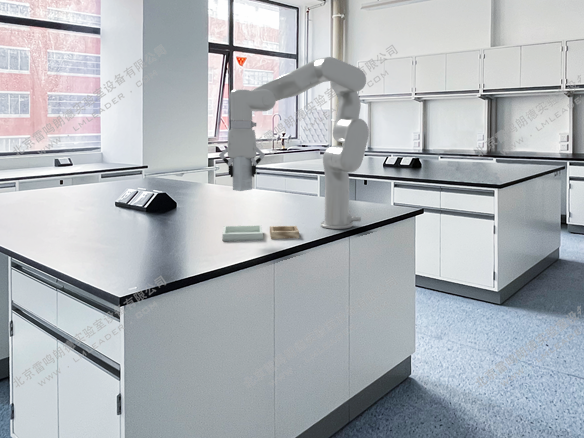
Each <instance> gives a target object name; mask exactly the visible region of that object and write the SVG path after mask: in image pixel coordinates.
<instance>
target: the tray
mask: <svg viewBox="0 0 584 438" xmlns="http://www.w3.org/2000/svg"><path fill="white" fill-rule="evenodd" d="M243 241H244V242H246V241H250V242H251V241H264V235H263V227H262V225H224V226H223V230H222V242H243Z"/></svg>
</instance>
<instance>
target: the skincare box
mask: <svg viewBox="0 0 584 438" xmlns="http://www.w3.org/2000/svg"><path fill="white" fill-rule="evenodd" d="M232 166H233V177H232V191H236V192H237V191H238V192H243V191H251V190H253V177H252V166H253V163H252V161H251V159H250V158H249V159H246V158H245V157H236V158H234V160H233V162H232Z"/></svg>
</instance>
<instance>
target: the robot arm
mask: <svg viewBox="0 0 584 438" xmlns="http://www.w3.org/2000/svg"><path fill="white" fill-rule="evenodd" d="M326 82H330V86H331V89H332V90H333V91H334V93H335V95H336V97H337V101H338V107H337V113H336V116H335V120H334V125H333V129H332V138H333V139H334V140H335V141H336V142H338V143H342V144H343V145H332V146H329V147H328V148H327V149H326V150H325V151H324V153H323V155H322V164H323V170H324V221H321V222H320V227H321V228H325V229H331V230H333V229H334V230H335V229H336V230H341V229H343V230H344V229H345V230H346V229H350V228H351V227H353V222H357V223H358V222H361V221H362V218H361V216H356V215H355V216H354V215H350V211H349V209H350V177H349V173H353V172H356V171H358V169H359V168H360V167H361V165H362V163H363V161H364V156H365V153H366V149H367V145H368V141H369V136H370V135H369V134H370V133H369V132H370V131H369V127H368V126H369V125H368V124H367V123H366V121H365V120H364V119H362V118H360V113H361V105H362V104H361V98H360V95H359V93H358V92H360V91H361V90H363V89H364V88H365V86H366V84H367V77H366V73H365V71H363V70H362V69H361V68H359V67H357V66H355V65H353V64H351V63H348V62H345V61H343V60H341V59H338V58H336V57H332V56H326V57H321V58H316V59H314V60H312V61H310V62H308V63H305V64H303V65H302V66H301V65H300V67H298V68H296V69H294V70H292V71H289V72H288V73H285V74H282V75H281V76H279V77H277V78H275V79H273V80H270V81H268V82H266V83H263V84H261V85H260V86H258V87H256V88H253V89H251V90H249V89H232V90H231V91H230V95H229V103H230V109H229V111H230V129H229V130H228V133H227V147H226V148H225V149H224V150H222V151H221V152H220V153H219V155H218V156H219V157H220V159H222V161H223V162H224V164H226V165H227V166H228V176H229V175H230V178H233V165H232V162H233V160H234V158H236V157H245V158H246V159H249V158H250V159H251V161H252V178H255V175H257V165H259V163H260V162H261V161H262V160H263V158H264V157H265V156H266V155H265V153H264V152H263V151H262V150H261V149H259V148H258V147H257V138H256V131H255V130H254V129H253V128H254V127H257V122H254V121H253V112H268V111H270V110H272V109H273V108H274V107H275V105H276V102H278V101H280V100H284V99H289V98H292V97H296V96H299V95H300V94H303V93H305V92H307V91H308V90H311V89H312V88H314V87H316V86H318V85H320V84H322V83H326ZM226 154H227V157H228V158H229V159H227V158H226V156H225V155H226ZM257 154H258V155H259V156H258V157H257ZM256 157H257V159H255V158H256Z"/></svg>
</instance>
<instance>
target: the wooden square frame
mask: <svg viewBox="0 0 584 438" xmlns="http://www.w3.org/2000/svg"><path fill="white" fill-rule="evenodd" d="M269 236H270V239H271V240H273V239H274V240H276V239H278V240H279V239H286V240H287V239H299V238H300V231H299V228H298V226H297V225H276V226H275V225H273V226H272V225H271V226H269Z"/></svg>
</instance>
